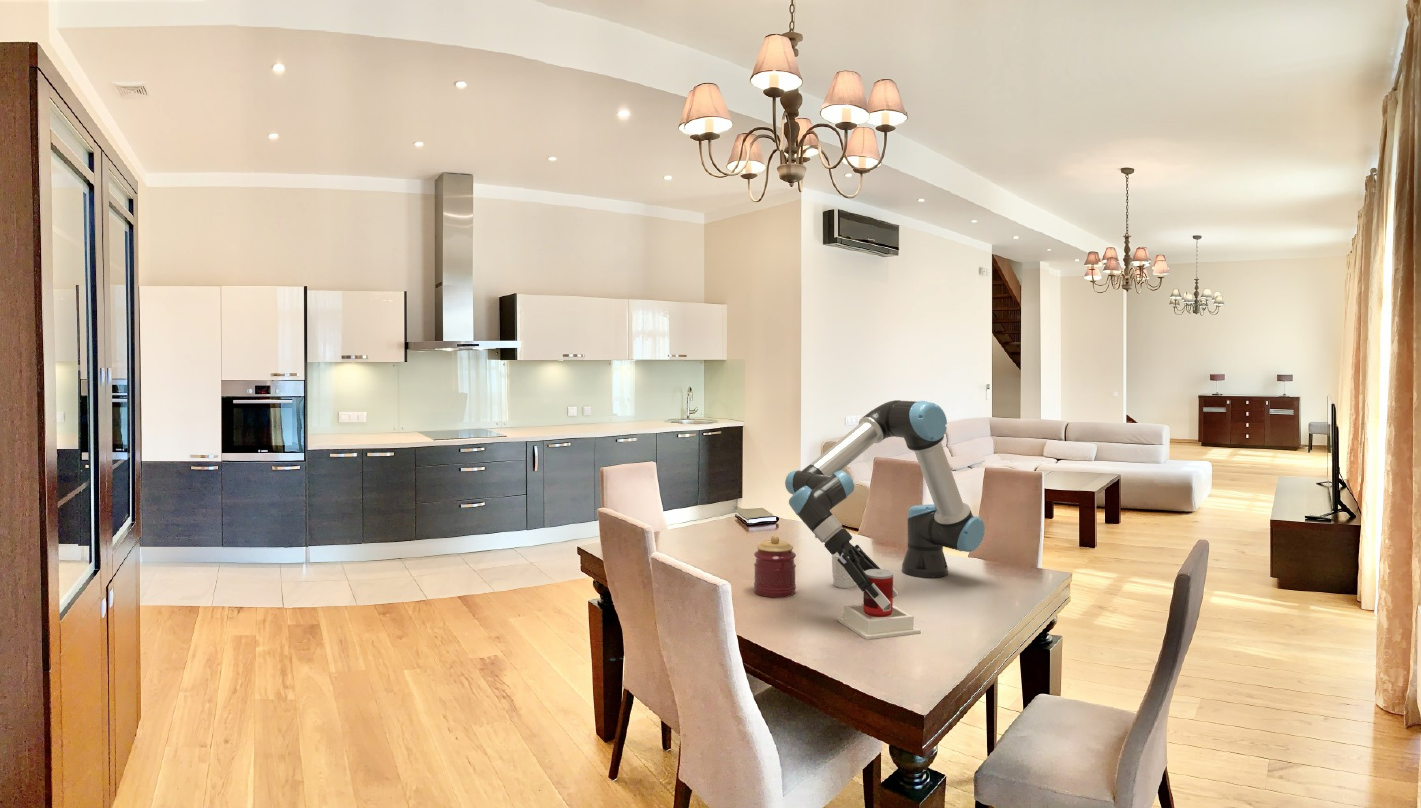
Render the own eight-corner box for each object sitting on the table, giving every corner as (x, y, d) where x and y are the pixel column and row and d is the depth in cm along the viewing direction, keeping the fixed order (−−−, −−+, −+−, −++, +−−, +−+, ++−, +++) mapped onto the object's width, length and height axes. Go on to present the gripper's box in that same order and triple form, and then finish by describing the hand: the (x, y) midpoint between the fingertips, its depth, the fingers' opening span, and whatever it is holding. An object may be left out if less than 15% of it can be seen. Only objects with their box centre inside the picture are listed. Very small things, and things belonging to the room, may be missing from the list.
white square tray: (888, 614, 215) (888, 599, 215) (920, 633, 200) (920, 617, 200) (837, 620, 210) (837, 604, 210) (866, 639, 195) (866, 623, 195)
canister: (802, 596, 232) (802, 538, 231) (762, 599, 229) (762, 541, 228) (786, 584, 245) (786, 530, 244) (748, 587, 241) (748, 532, 240)
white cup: (856, 589, 239) (856, 558, 239) (830, 588, 241) (831, 556, 241) (856, 582, 247) (856, 552, 247) (832, 581, 249) (832, 550, 248)
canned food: (893, 609, 207) (894, 570, 207) (890, 619, 200) (891, 577, 199) (865, 606, 210) (865, 567, 209) (861, 615, 202) (861, 574, 202)
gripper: (835, 536, 220) (890, 599, 214) (811, 551, 202) (870, 621, 195) (853, 520, 218) (909, 583, 211) (830, 534, 199) (891, 603, 192)
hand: (890, 601), depth 203 cm, fingers closed on canned food, 8 cm apart
